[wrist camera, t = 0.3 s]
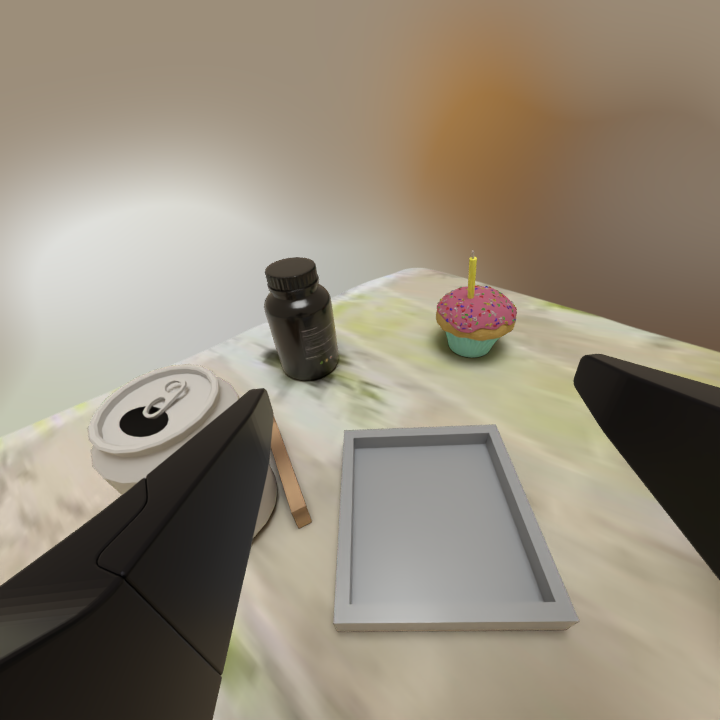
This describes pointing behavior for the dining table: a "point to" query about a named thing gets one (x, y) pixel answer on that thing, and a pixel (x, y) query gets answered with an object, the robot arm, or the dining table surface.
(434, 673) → the dining table surface
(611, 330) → the dining table surface
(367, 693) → the dining table surface
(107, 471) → the can
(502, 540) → the tray
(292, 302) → the supplement bottle
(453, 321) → the cupcake
